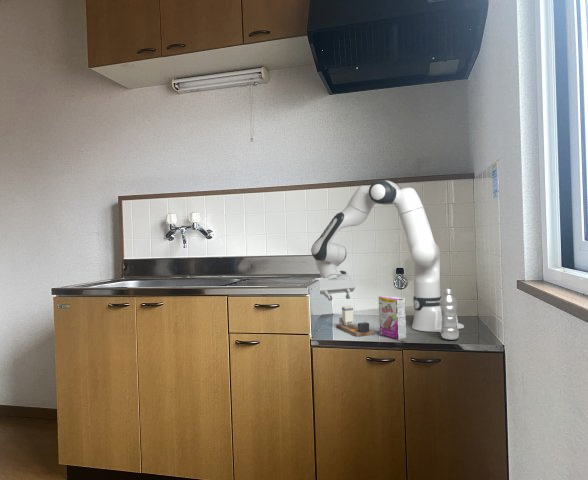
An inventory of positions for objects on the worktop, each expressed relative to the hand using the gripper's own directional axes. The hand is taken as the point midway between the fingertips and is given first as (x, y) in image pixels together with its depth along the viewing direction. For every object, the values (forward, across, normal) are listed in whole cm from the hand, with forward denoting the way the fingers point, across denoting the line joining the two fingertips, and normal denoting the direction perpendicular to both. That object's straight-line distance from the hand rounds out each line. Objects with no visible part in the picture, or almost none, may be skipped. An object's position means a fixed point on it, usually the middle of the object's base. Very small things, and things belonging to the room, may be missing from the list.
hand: (339, 298), depth 198 cm
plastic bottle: (+41, +26, -23) cm, 54 cm away
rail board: (+19, 0, -1) cm, 19 cm away
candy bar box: (+31, +9, -13) cm, 35 cm away
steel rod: (+18, 0, -2) cm, 18 cm away
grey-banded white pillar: (+13, 0, +2) cm, 13 cm away
